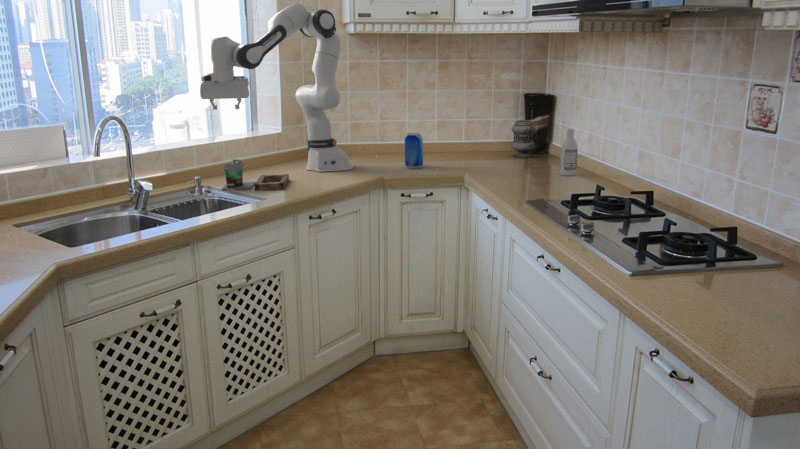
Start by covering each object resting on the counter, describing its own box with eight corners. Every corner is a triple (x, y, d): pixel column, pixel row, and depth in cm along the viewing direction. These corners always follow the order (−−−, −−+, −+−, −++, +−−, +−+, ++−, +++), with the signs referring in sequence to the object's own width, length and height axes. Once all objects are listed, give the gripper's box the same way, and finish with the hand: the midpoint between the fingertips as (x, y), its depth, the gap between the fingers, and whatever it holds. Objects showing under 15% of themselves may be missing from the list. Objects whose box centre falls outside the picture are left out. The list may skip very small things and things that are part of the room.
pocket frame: (288, 179, 283) (288, 174, 283) (284, 189, 266) (283, 183, 265) (261, 180, 283) (261, 175, 282) (254, 190, 265) (254, 184, 264)
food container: (240, 188, 266) (238, 164, 263) (225, 188, 267) (223, 164, 264) (249, 181, 278) (247, 159, 275) (235, 181, 278) (233, 159, 276)
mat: (255, 182, 279) (255, 181, 278) (250, 189, 267) (250, 187, 267) (227, 183, 278) (227, 182, 278) (221, 190, 266) (221, 188, 266)
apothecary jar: (512, 153, 333) (513, 119, 328) (536, 154, 329) (537, 119, 324) (508, 158, 323) (509, 122, 317) (532, 159, 319) (534, 122, 313)
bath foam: (579, 175, 281) (582, 129, 275) (566, 176, 278) (569, 130, 272) (568, 172, 287) (571, 127, 281) (556, 174, 284) (558, 128, 278)
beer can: (402, 168, 302) (401, 134, 298) (409, 165, 310) (408, 132, 305) (419, 169, 299) (418, 135, 295) (425, 166, 307) (425, 132, 302)
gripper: (249, 75, 277) (251, 107, 280) (201, 76, 276) (204, 109, 279) (246, 76, 271) (249, 109, 274) (197, 77, 269) (201, 110, 273)
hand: (226, 109), depth 277 cm, fingers open, 8 cm apart
